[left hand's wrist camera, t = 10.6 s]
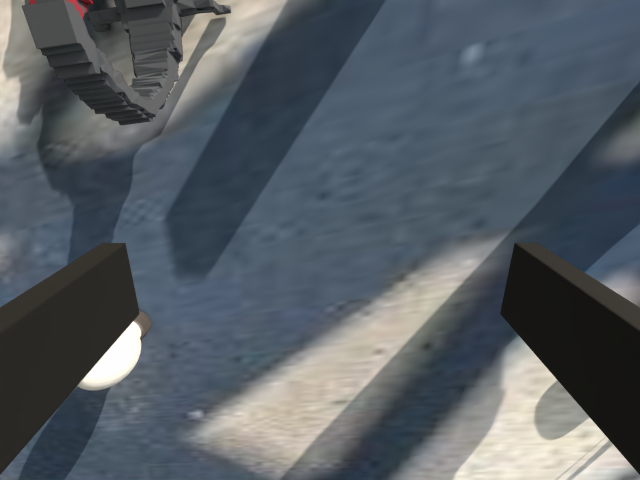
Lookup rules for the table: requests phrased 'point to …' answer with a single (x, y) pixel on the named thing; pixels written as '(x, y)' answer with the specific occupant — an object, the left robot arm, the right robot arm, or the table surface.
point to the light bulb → (118, 357)
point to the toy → (94, 67)
